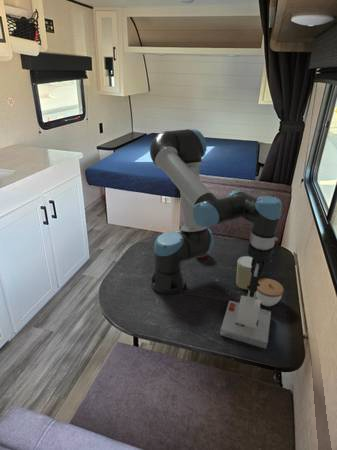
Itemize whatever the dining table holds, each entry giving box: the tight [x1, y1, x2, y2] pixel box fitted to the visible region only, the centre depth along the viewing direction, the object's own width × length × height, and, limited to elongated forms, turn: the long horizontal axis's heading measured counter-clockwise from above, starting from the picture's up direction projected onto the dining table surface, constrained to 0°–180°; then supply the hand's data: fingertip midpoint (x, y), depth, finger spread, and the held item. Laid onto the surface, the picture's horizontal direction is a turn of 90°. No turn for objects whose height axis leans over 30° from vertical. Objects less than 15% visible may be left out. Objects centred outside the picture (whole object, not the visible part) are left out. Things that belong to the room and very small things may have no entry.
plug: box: [236, 295, 262, 328], centre depth 108 cm, size 7×6×11 cm
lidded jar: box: [255, 277, 285, 307], centre depth 121 cm, size 11×11×9 cm
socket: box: [219, 300, 272, 350], centre depth 110 cm, size 16×16×4 cm
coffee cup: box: [235, 255, 253, 290], centre depth 130 cm, size 9×9×12 cm
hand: (250, 301), depth 105 cm, fingers closed
